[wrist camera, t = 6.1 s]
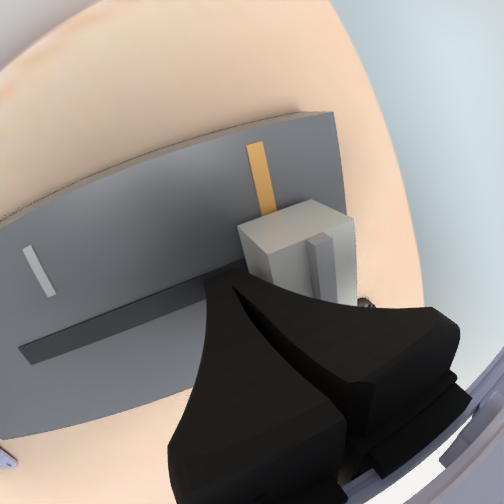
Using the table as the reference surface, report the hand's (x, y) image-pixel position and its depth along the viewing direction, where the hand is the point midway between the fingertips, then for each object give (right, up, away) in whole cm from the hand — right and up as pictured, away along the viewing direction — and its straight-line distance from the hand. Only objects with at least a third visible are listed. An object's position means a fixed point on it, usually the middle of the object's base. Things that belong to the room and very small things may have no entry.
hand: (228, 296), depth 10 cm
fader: (+2, +1, +1) cm, 3 cm away
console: (-6, 0, +2) cm, 6 cm away
